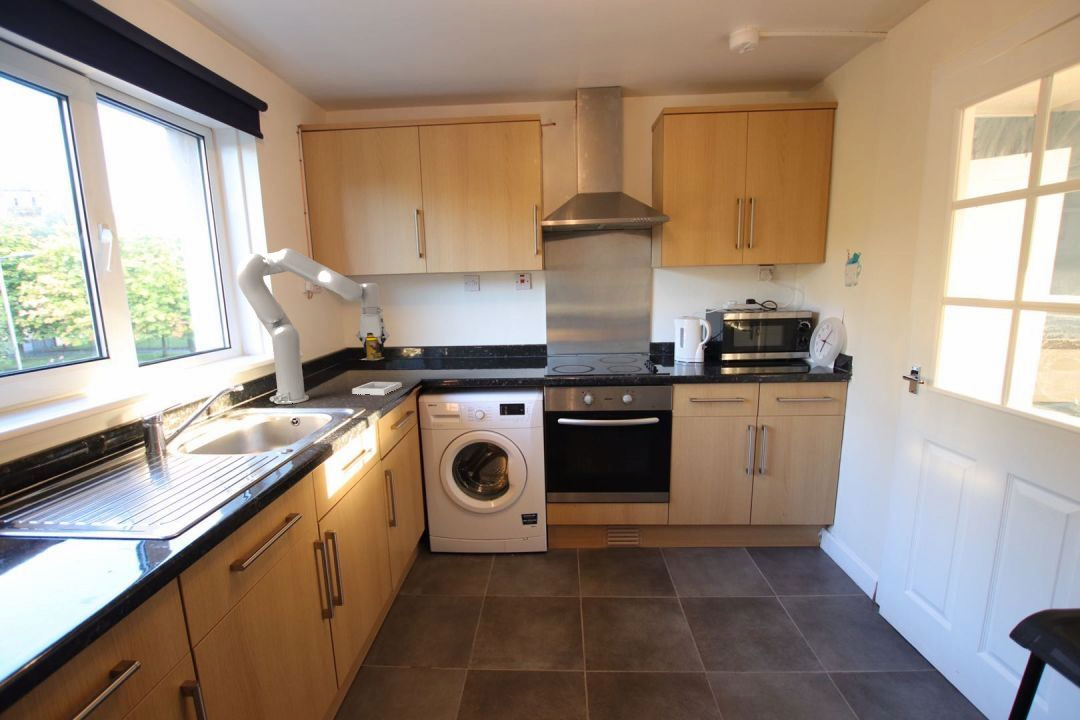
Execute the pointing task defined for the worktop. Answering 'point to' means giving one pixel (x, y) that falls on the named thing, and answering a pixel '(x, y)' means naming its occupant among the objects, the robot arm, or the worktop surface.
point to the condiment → (372, 348)
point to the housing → (376, 388)
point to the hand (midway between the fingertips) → (374, 352)
